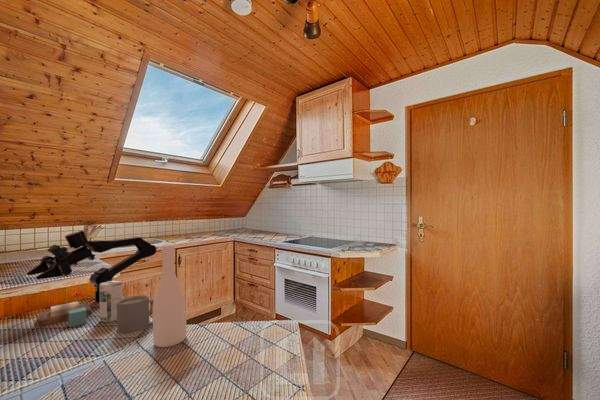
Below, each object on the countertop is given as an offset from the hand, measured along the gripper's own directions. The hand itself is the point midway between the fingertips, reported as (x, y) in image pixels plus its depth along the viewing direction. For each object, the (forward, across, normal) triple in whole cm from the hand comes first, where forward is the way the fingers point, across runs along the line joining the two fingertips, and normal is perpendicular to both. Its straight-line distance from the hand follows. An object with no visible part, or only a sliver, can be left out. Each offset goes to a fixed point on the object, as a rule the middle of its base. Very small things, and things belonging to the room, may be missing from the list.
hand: (31, 276), depth 111 cm
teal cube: (0, +26, +16) cm, 30 cm away
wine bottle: (-7, +73, +14) cm, 75 cm away
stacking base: (-1, +11, +18) cm, 21 cm away
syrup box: (-8, +34, +18) cm, 40 cm away
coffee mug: (-9, +51, +17) cm, 55 cm away
